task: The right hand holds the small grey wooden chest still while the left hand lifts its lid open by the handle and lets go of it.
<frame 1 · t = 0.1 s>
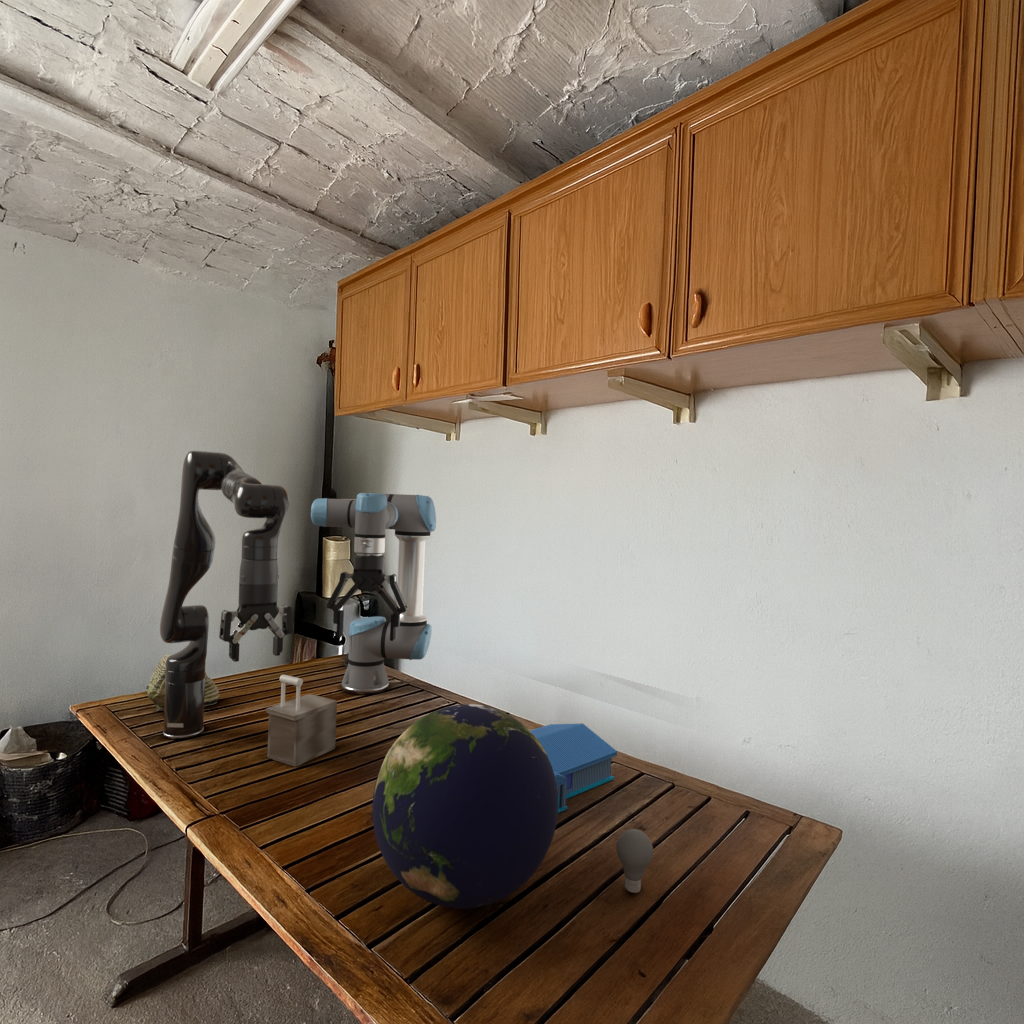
left hand: (256, 657, 132), 29 cm above the table, tool pointing down, fingers open, 8 cm apart
right hand: (366, 638, 160), 28 cm above the table, tool pointing down, fingers open, 13 cm apart
lid: (303, 690, 155), point 16 cm above the table, hinge at 0.0°
fossil: (183, 706, 185), on the table
light bulb: (632, 891, 106), on the table
model building: (527, 788, 142), on the table
globe: (462, 892, 103), on the table
chest: (302, 753, 156), on the table
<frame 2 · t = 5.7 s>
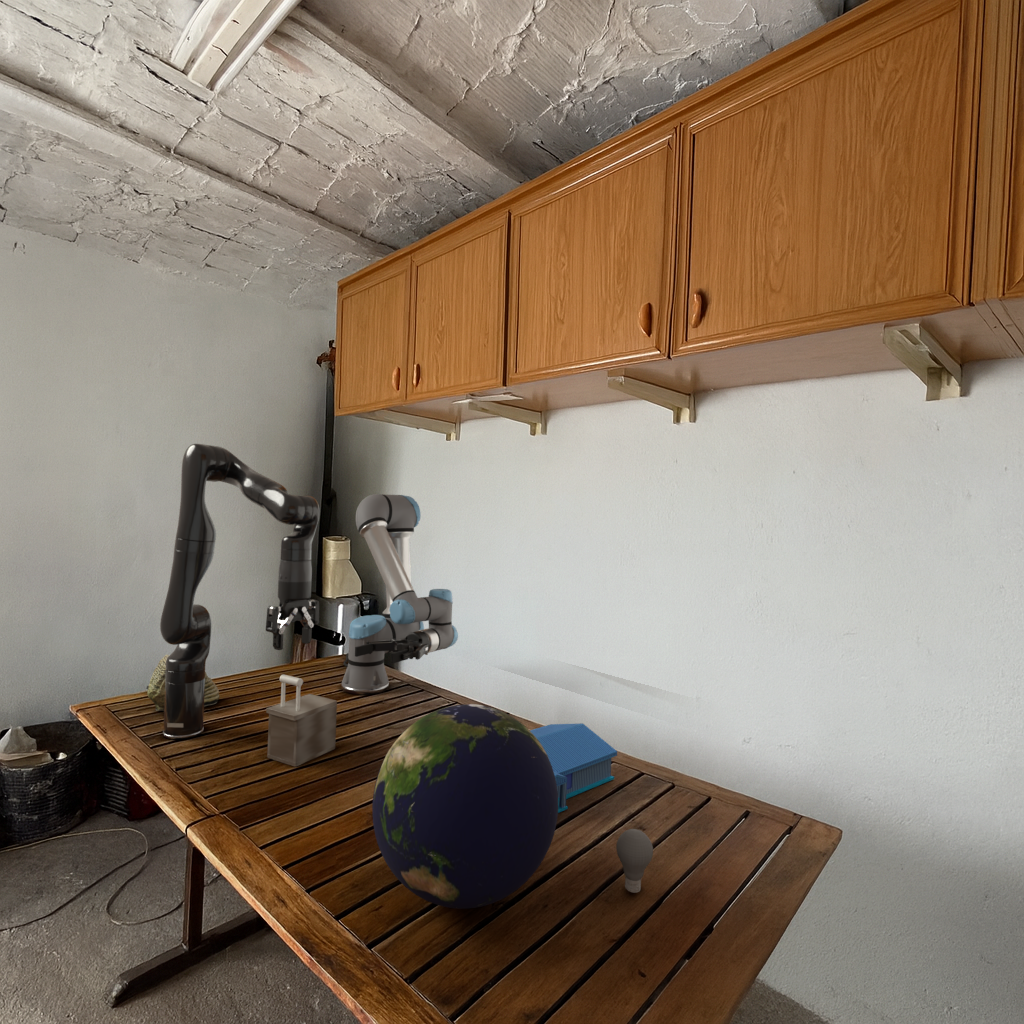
left hand: (292, 646, 151), 27 cm above the table, tool pointing down, fingers open, 8 cm apart
right hand: (373, 655, 179), 19 cm above the table, tool horizontal, fingers open, 13 cm apart
nothing on the table moved.
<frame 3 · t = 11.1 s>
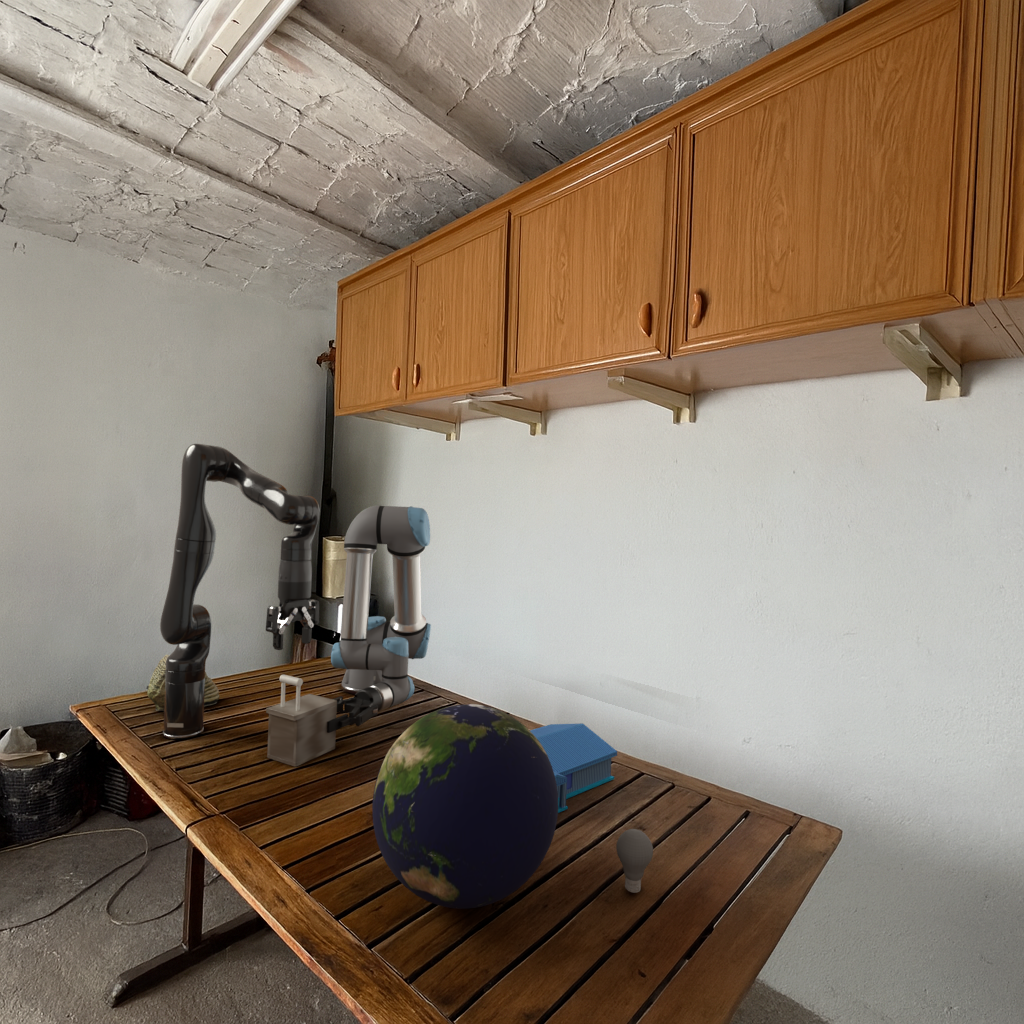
left hand: (292, 646, 151), 27 cm above the table, tool pointing down, fingers open, 8 cm apart
right hand: (313, 723, 158), 7 cm above the table, tool horizontal, fingers closed on chest, 9 cm apart
chest: (301, 753, 156), on the table, touching right hand
everything else where it was.
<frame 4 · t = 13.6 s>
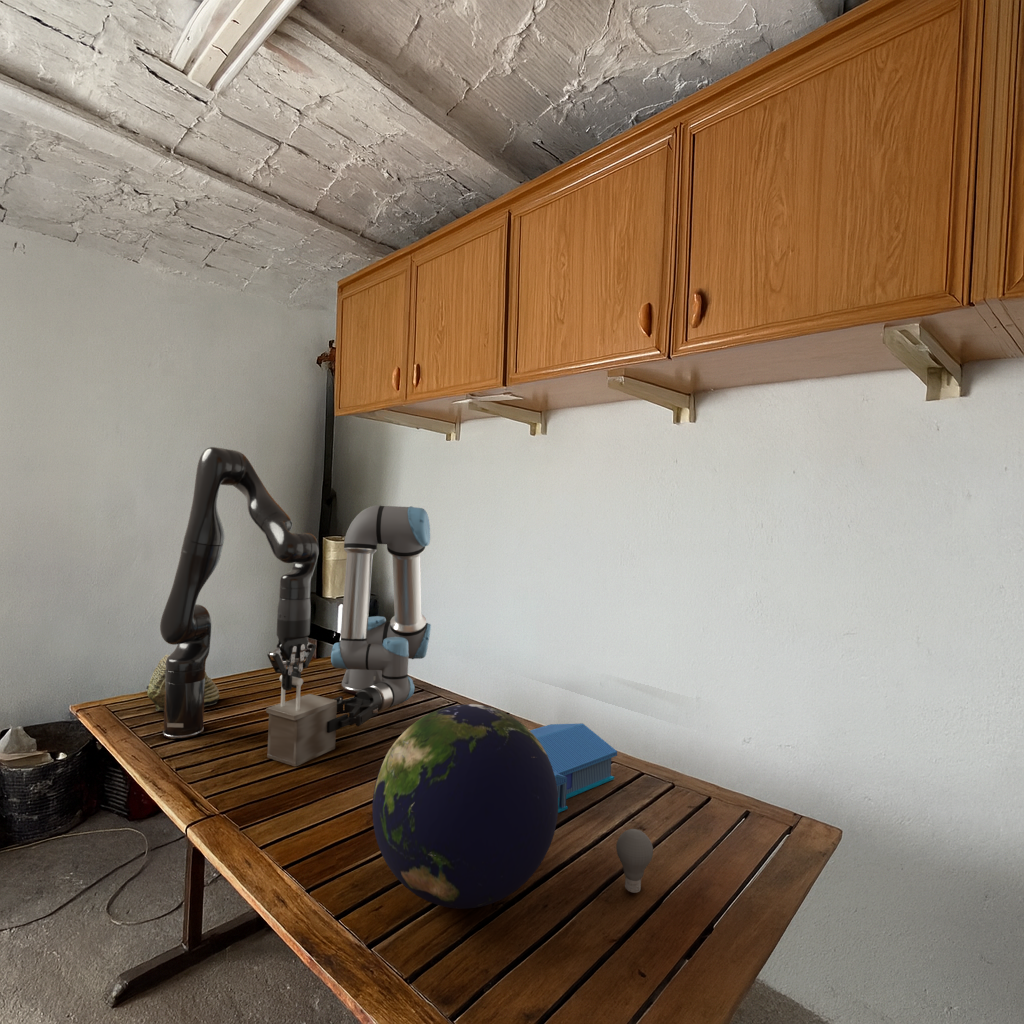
left hand: (291, 688, 151), 17 cm above the table, tool pointing down, fingers closed on lid, 2 cm apart
right hand: (313, 723, 158), 7 cm above the table, tool horizontal, fingers closed on chest, 9 cm apart
lid: (303, 690, 155), point 16 cm above the table, hinge at 0.2°, touching left hand
chest: (302, 753, 156), on the table, touching right hand
everything else where it was.
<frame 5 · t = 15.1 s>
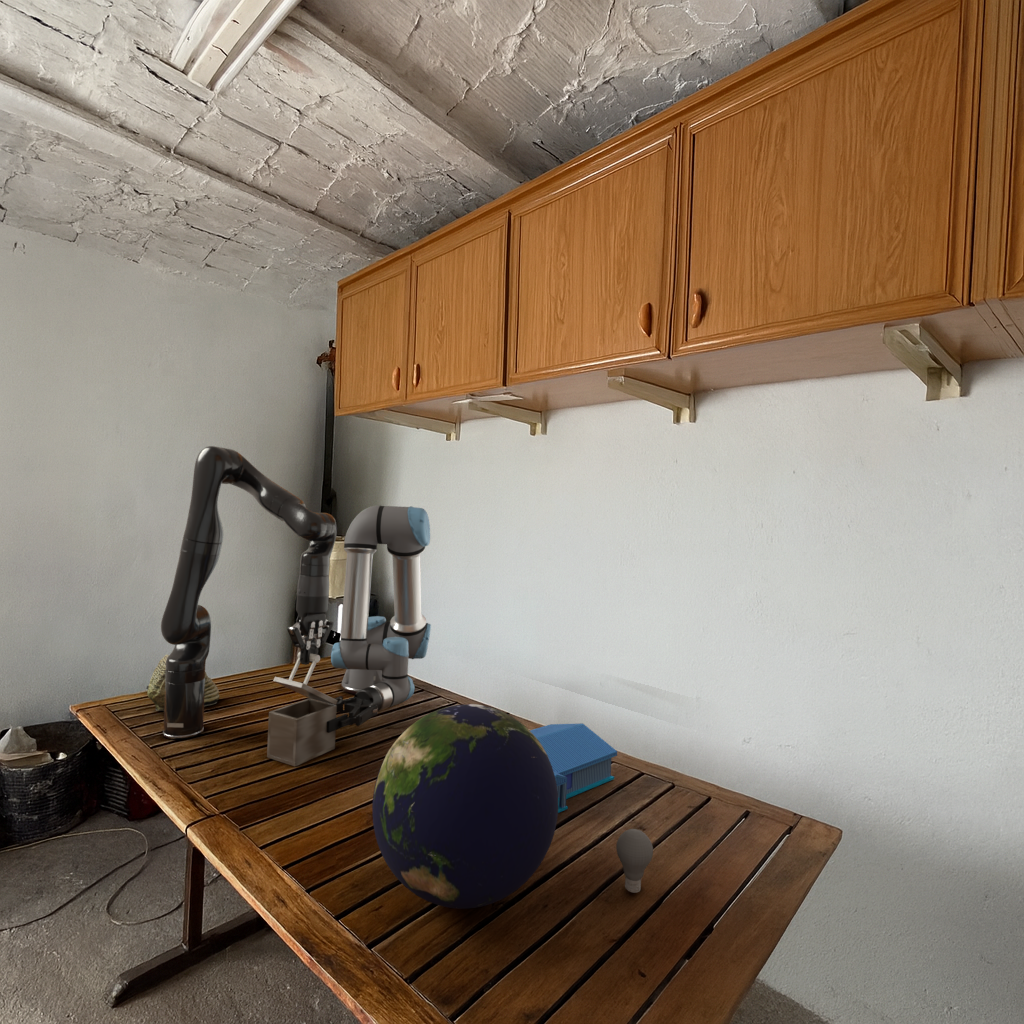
left hand: (308, 662, 156), 22 cm above the table, tool pointing down, fingers closed on lid, 2 cm apart
right hand: (312, 722, 159), 6 cm above the table, tool horizontal, fingers closed on chest, 9 cm apart
lid: (312, 675, 158), point 19 cm above the table, hinge at 31.3°, touching left hand
chest: (301, 753, 156), on the table, touching right hand
everything else where it was.
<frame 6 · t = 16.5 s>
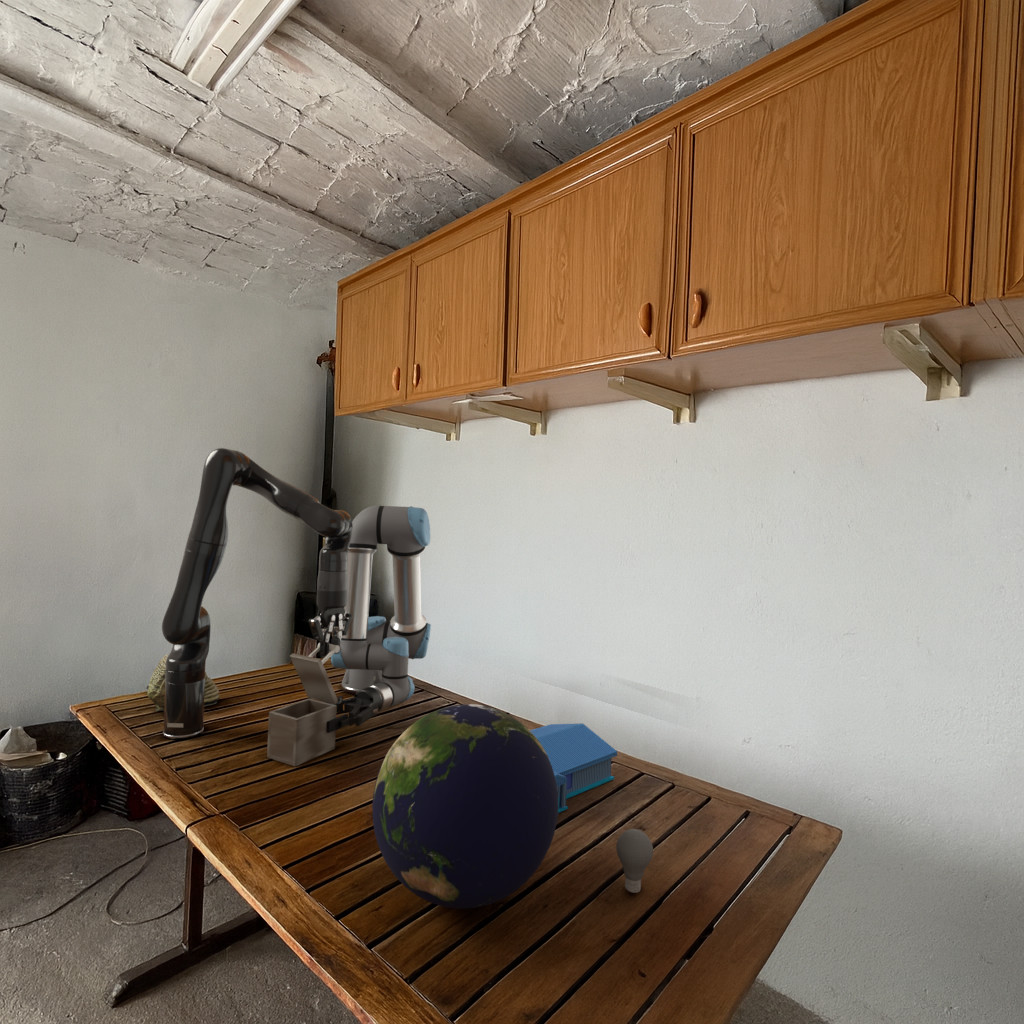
left hand: (329, 654, 163), 23 cm above the table, tool pointing down, fingers open, 3 cm apart
right hand: (312, 722, 159), 6 cm above the table, tool horizontal, fingers closed on chest, 9 cm apart
lid: (324, 668, 161), point 20 cm above the table, hinge at 60.9°
chest: (301, 753, 156), on the table, touching right hand
everything else where it was.
when the right hand's fingers open (6 cm above the table, at t = 20.9 s): chest stays where it is, on the table.
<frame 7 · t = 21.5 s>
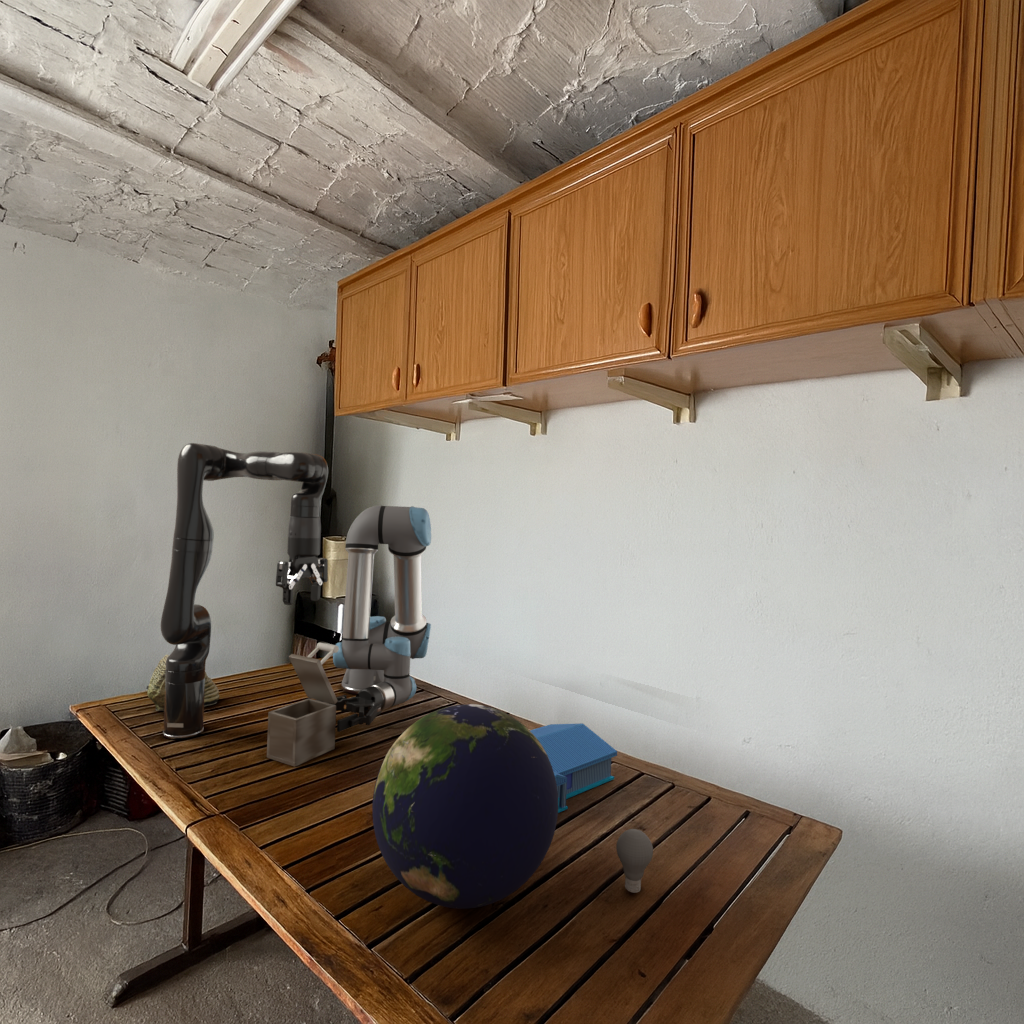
left hand: (301, 602, 153), 37 cm above the table, tool pointing down, fingers open, 8 cm apart
right hand: (318, 720, 160), 7 cm above the table, tool horizontal, fingers open, 13 cm apart
lid: (323, 668, 161), point 20 cm above the table, hinge at 60.2°
chest: (301, 753, 156), on the table
everything else where it was.
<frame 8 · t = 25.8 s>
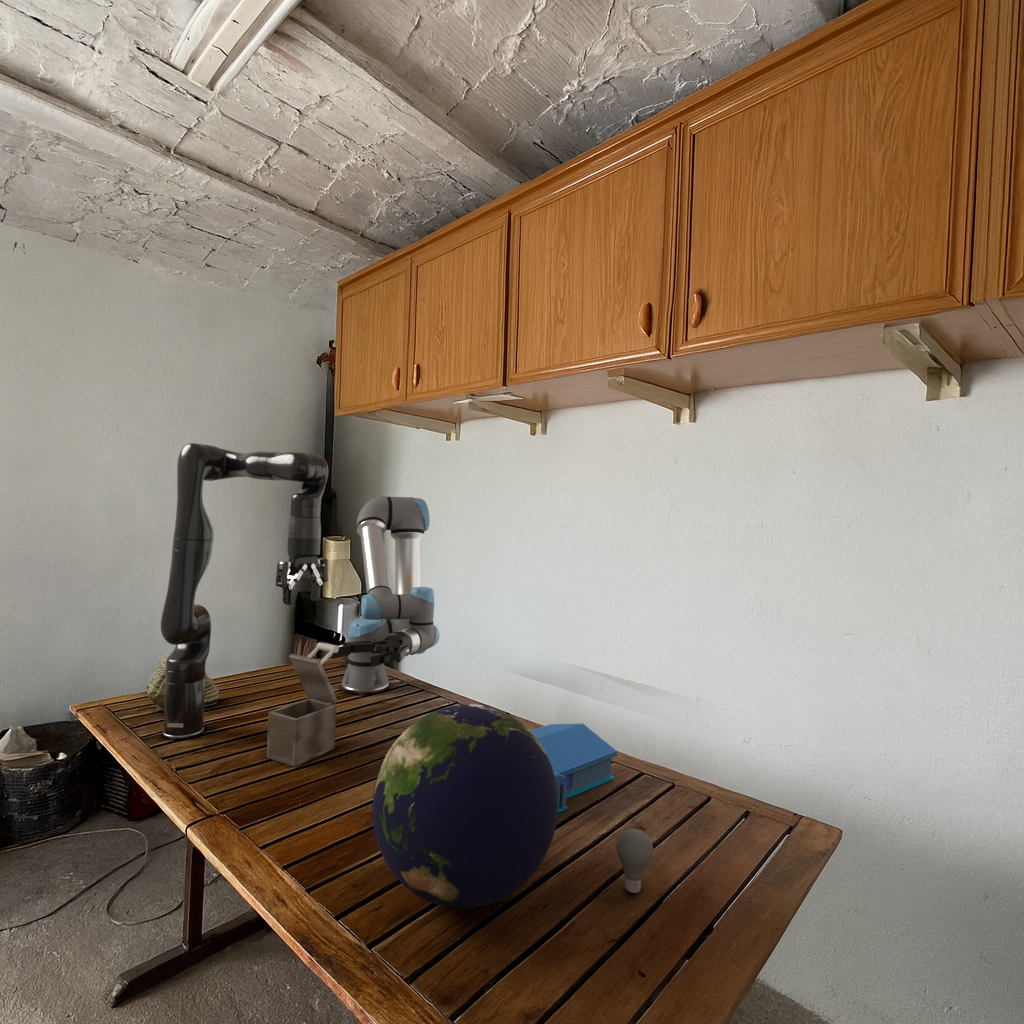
left hand: (301, 602, 153), 37 cm above the table, tool pointing down, fingers open, 8 cm apart
right hand: (351, 657, 170), 20 cm above the table, tool horizontal, fingers open, 13 cm apart
nothing on the table moved.
at the end: lid at +60° (first picture: +0°); the left hand is holding nothing; the right hand is holding nothing; chest tilted 0°; chest never tilted more than 1° during the clip; chest moved 0.2 cm from its start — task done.
